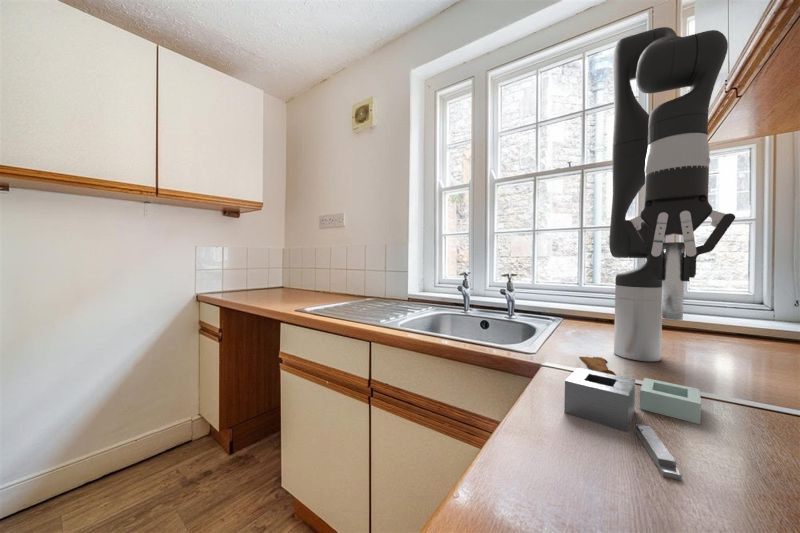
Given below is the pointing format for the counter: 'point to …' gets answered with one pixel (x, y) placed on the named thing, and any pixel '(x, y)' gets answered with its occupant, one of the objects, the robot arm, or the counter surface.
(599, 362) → the primitive tool
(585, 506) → the counter surface
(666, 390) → the box
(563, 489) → the counter surface
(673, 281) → the peg
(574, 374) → the socket
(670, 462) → the bar
